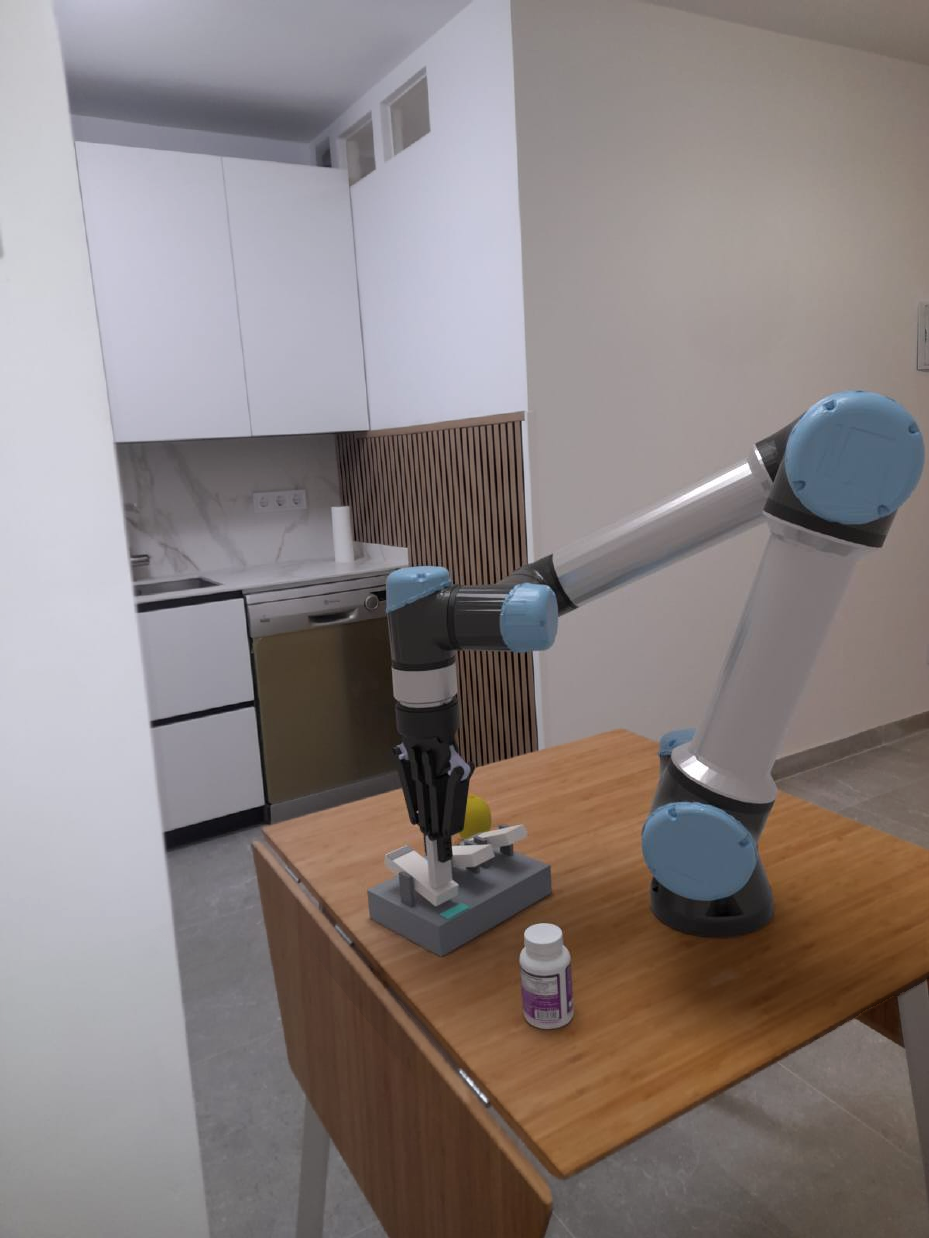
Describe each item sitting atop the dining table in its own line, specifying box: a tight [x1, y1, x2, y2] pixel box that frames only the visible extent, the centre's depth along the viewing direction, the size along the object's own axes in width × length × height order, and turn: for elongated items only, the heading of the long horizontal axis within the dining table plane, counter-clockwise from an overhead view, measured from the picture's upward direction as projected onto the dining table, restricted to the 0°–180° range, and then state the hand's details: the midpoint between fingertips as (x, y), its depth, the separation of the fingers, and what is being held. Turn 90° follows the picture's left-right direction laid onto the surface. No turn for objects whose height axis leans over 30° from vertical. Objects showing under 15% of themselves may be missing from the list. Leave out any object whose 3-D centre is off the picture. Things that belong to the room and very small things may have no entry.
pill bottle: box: [519, 922, 575, 1030], centre depth 95 cm, size 5×5×10 cm
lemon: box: [458, 793, 493, 840], centre depth 137 cm, size 6×6×8 cm
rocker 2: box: [423, 844, 495, 867], centre depth 119 cm, size 10×4×2 cm, turn 43°
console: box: [366, 823, 553, 958], centre depth 119 cm, size 14×20×8 cm
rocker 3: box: [459, 823, 529, 848], centre depth 123 cm, size 10×4×2 cm, turn 43°
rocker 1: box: [383, 844, 459, 906], centre depth 114 cm, size 10×4×2 cm, turn 44°
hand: (440, 882), depth 112 cm, fingers closed
